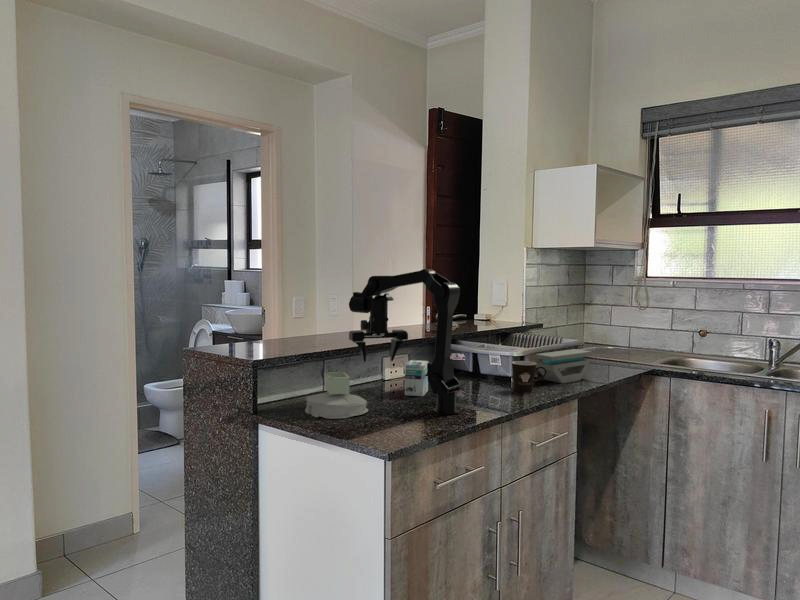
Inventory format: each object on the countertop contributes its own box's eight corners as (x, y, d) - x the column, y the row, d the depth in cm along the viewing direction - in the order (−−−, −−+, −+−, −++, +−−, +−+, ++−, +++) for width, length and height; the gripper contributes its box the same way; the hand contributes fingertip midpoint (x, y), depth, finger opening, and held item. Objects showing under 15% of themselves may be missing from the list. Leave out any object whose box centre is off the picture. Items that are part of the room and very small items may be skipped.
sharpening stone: (574, 375, 256) (575, 349, 255) (590, 378, 250) (591, 351, 249) (534, 382, 241) (535, 354, 240) (551, 385, 235) (552, 356, 234)
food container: (292, 410, 193) (291, 388, 192) (346, 401, 205) (346, 380, 204) (324, 425, 177) (324, 402, 177) (382, 414, 189) (382, 392, 189)
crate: (349, 393, 187) (350, 377, 187) (329, 394, 186) (329, 378, 185) (343, 387, 196) (343, 371, 196) (324, 388, 194) (324, 372, 194)
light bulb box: (423, 396, 212) (424, 365, 211) (404, 395, 213) (404, 364, 213) (428, 390, 222) (429, 360, 222) (409, 389, 224) (410, 359, 223)
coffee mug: (507, 391, 223) (508, 363, 222) (515, 387, 231) (516, 360, 230) (540, 395, 218) (541, 366, 217) (546, 390, 225) (547, 363, 224)
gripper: (398, 311, 214) (397, 356, 215) (345, 312, 208) (344, 358, 209) (408, 314, 203) (408, 362, 204) (353, 315, 198) (352, 364, 199)
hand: (378, 361), depth 204 cm, fingers open, 9 cm apart
